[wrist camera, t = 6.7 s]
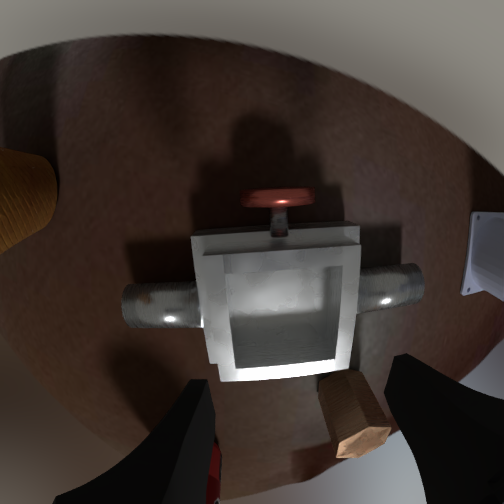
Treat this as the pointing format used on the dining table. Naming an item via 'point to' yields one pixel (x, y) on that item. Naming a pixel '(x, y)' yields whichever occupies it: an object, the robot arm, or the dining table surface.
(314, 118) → the dining table surface
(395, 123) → the dining table surface
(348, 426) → the wooden hexagonal prism
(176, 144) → the dining table surface
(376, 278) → the valve body
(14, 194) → the disposable coffee cup
